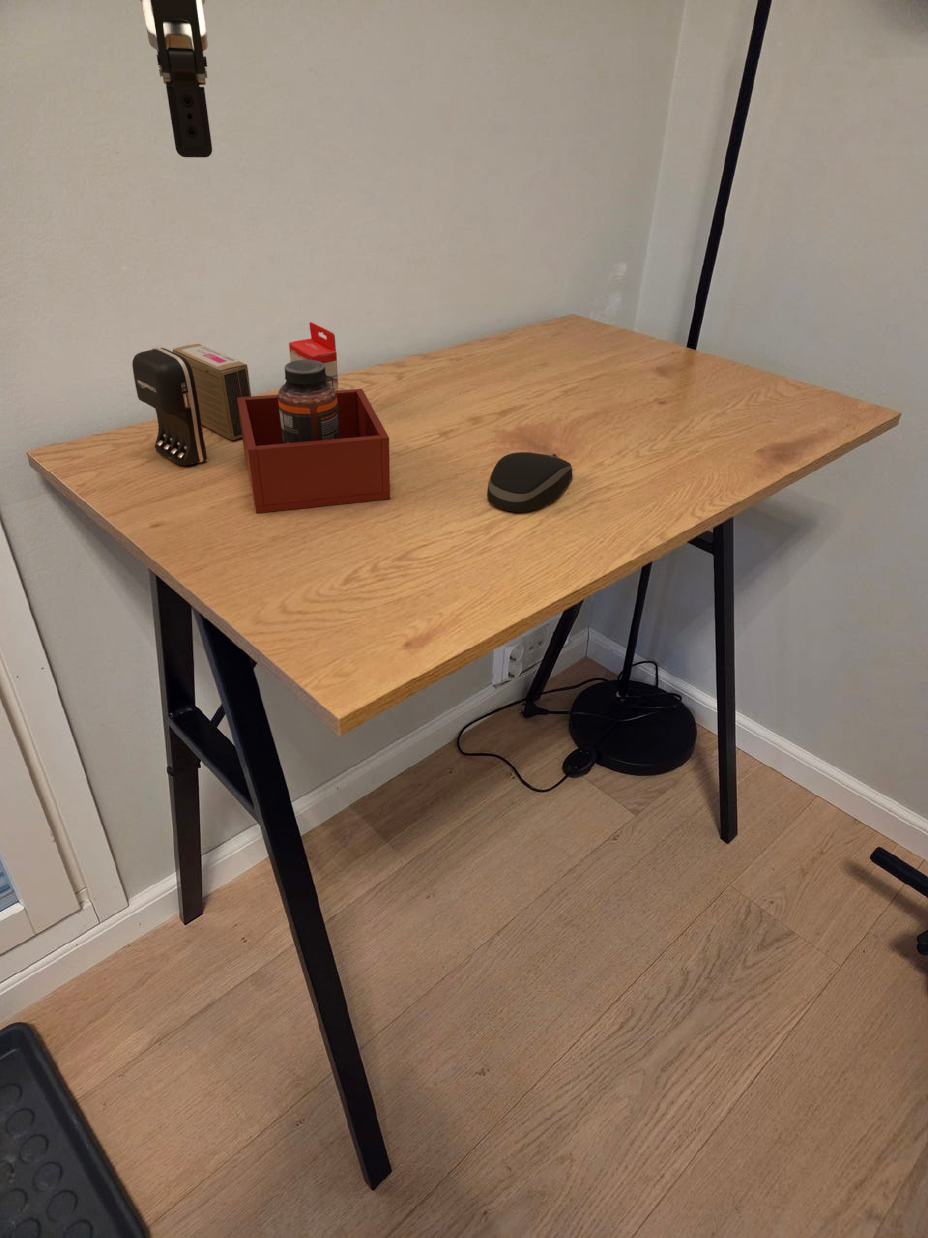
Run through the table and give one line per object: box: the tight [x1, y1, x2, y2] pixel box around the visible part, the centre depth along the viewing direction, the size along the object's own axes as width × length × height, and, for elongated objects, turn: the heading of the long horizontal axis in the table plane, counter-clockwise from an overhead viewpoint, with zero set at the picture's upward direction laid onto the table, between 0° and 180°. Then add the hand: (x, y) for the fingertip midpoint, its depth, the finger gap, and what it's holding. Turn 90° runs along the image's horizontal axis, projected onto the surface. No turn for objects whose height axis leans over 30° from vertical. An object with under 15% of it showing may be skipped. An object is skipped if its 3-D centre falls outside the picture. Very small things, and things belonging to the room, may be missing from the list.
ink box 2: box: [288, 321, 339, 391], centre depth 97 cm, size 6×3×10 cm, turn 40°
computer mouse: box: [486, 451, 573, 513], centre depth 84 cm, size 7×12×4 cm, turn 146°
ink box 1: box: [172, 343, 252, 441], centre depth 93 cm, size 10×4×8 cm, turn 46°
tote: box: [237, 388, 391, 514], centre depth 83 cm, size 14×14×7 cm
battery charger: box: [131, 347, 208, 467], centre depth 84 cm, size 7×4×11 cm, turn 47°
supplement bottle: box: [277, 360, 340, 444], centre depth 81 cm, size 6×6×11 cm
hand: (192, 147), depth 53 cm, fingers open, 8 cm apart
